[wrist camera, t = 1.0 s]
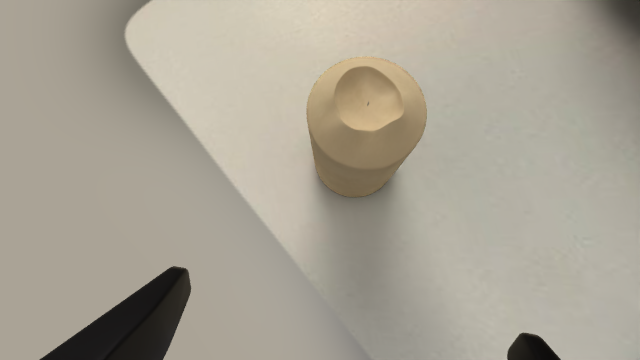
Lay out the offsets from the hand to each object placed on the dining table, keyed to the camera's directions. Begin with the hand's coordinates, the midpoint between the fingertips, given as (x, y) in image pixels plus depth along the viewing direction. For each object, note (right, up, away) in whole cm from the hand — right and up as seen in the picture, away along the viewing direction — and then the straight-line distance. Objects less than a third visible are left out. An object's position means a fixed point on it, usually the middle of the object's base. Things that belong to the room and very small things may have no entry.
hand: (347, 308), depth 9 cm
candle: (+2, +5, +15) cm, 16 cm away
